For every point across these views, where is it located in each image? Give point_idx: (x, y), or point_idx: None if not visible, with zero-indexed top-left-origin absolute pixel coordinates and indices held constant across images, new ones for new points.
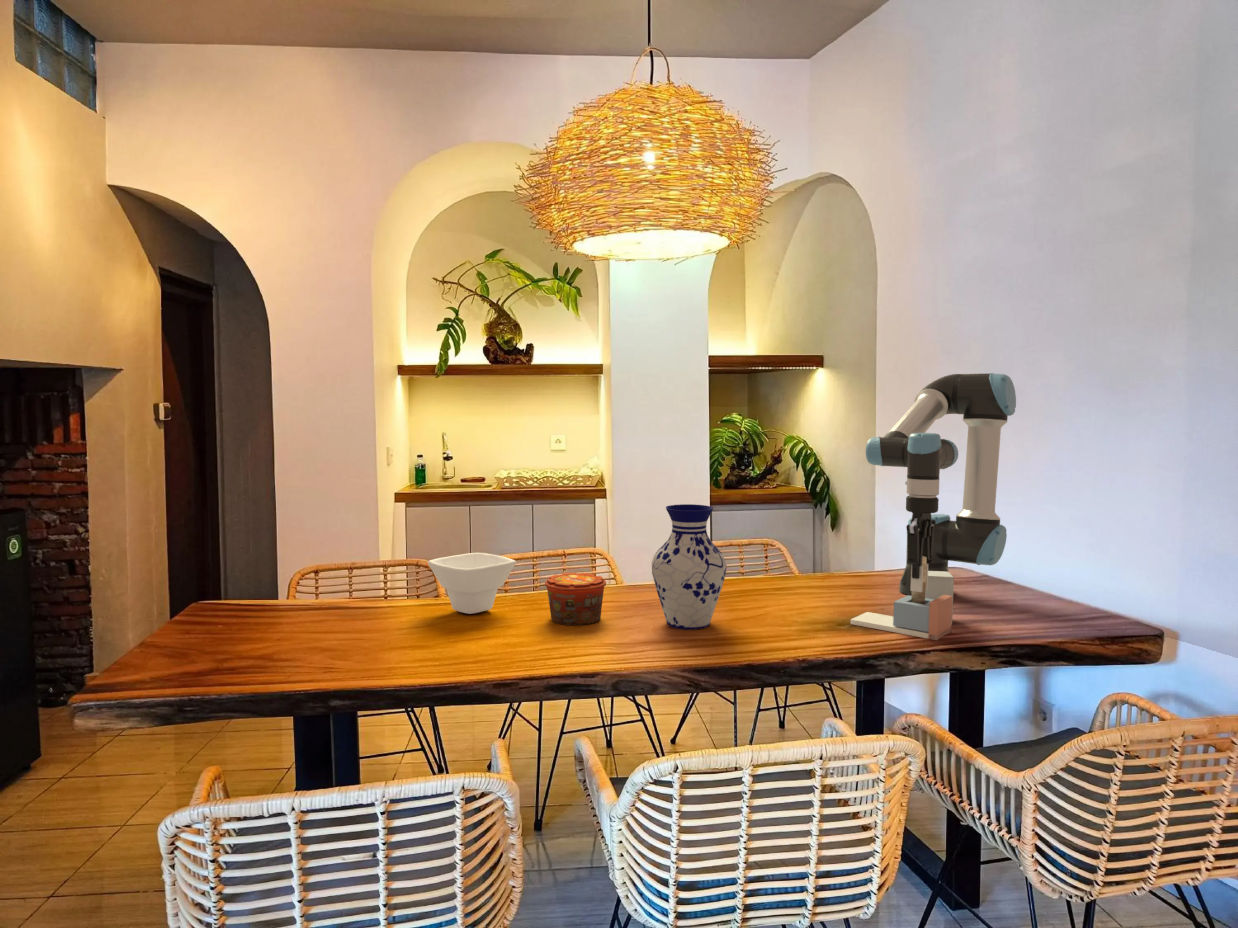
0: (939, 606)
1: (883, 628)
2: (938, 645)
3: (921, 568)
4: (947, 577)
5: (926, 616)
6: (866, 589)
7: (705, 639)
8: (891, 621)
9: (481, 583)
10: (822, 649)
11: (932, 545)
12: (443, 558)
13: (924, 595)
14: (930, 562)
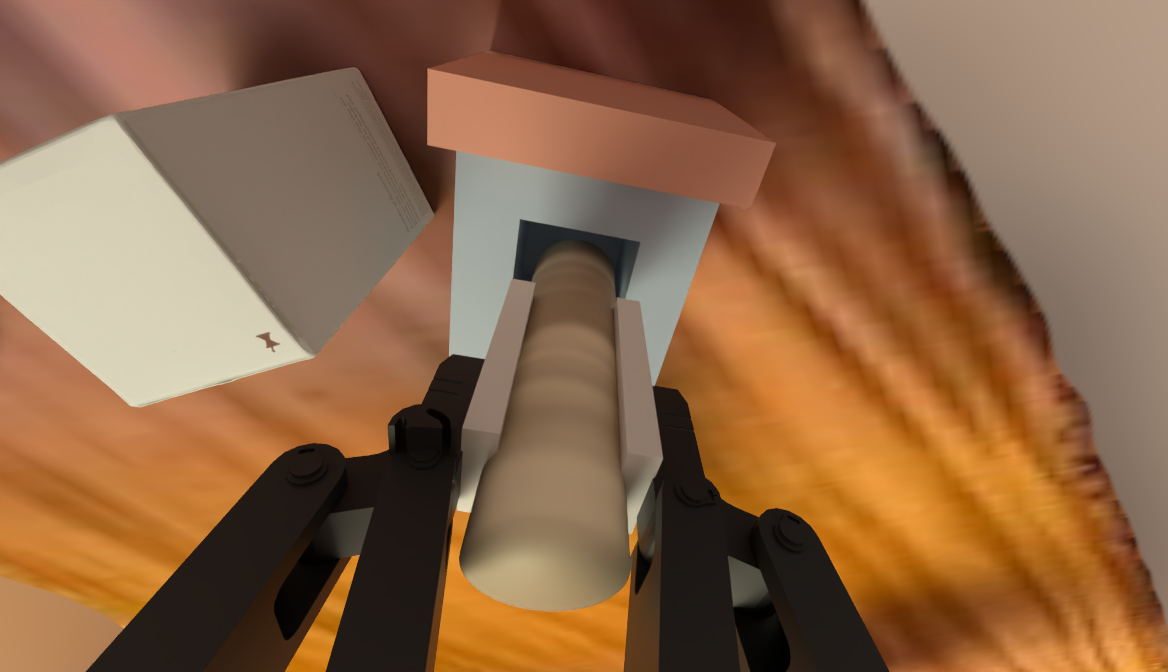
0: (732, 128)
1: None
2: (811, 72)
3: (655, 441)
4: (171, 180)
5: None
6: (83, 479)
7: (907, 629)
8: None
9: None
10: (964, 444)
11: (146, 647)
12: None
13: (583, 271)
14: (453, 421)
